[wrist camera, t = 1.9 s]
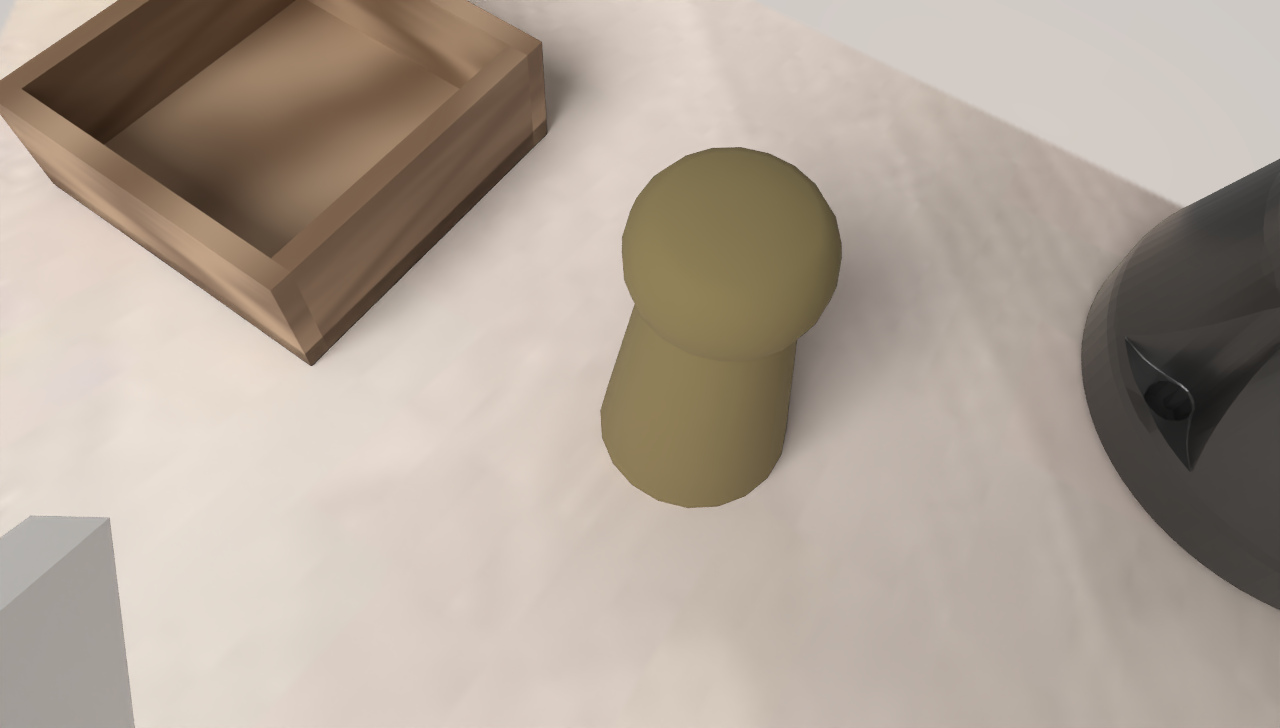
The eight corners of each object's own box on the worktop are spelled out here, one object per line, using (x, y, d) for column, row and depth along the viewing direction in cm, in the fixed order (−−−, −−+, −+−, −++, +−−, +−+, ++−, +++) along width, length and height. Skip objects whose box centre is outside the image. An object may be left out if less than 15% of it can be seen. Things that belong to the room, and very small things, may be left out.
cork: (663, 543, 29) (701, 371, 19) (566, 389, 31) (555, 166, 21) (823, 450, 30) (931, 250, 21) (719, 311, 33) (773, 73, 23)
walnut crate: (547, 133, 36) (542, 41, 32) (311, 366, 31) (270, 290, 27) (305, -7, 39) (274, -106, 35) (53, 183, 34) (-17, 92, 30)
